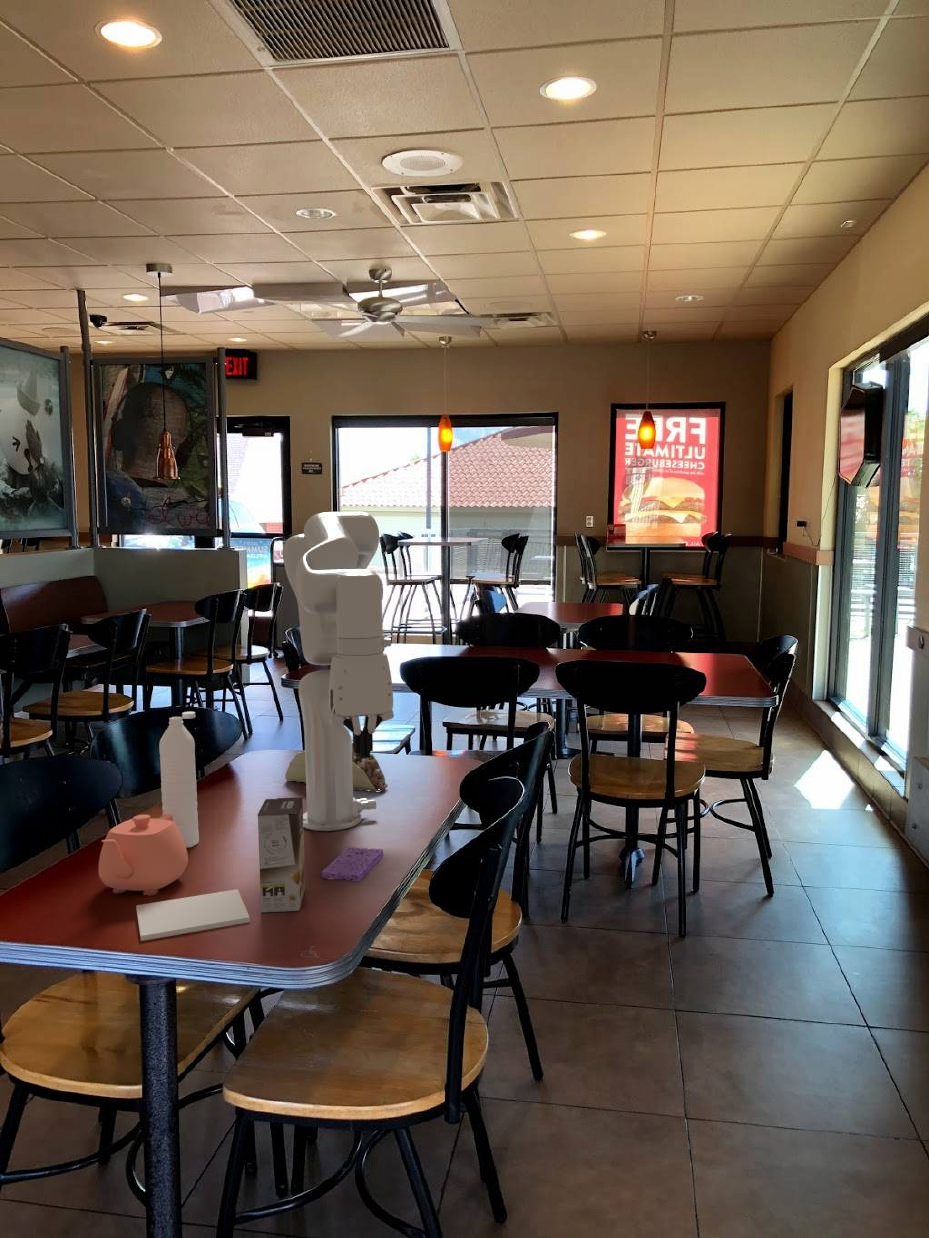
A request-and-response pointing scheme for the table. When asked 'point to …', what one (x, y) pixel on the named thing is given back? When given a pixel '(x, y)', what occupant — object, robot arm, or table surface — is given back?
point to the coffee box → (281, 854)
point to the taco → (364, 769)
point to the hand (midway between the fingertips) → (363, 756)
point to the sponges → (353, 864)
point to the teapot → (143, 855)
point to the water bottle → (180, 778)
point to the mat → (191, 914)
